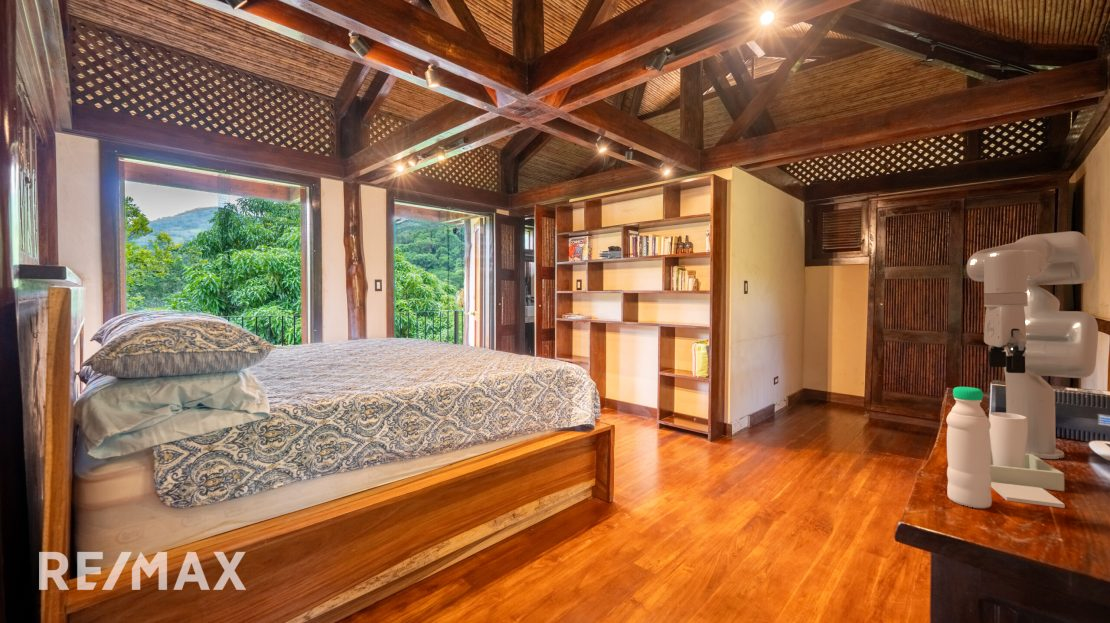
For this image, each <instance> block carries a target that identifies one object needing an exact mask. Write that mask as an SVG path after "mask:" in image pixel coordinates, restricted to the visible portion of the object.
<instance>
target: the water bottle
mask: <svg viewBox="0 0 1110 623" xmlns="http://www.w3.org/2000/svg"><path fill="white" fill-rule="evenodd" d="M952 395H953V399H954V400H955V404H954V406H952V408H951V410H950V411H949V413H948V414H947V417H946V424H947V430H946V456H947V458H946V460H947V465H948V466H947V469H946V476H947V487H946V490H947V491H946V492H947V497H948V498H949V500H951V501H952V502H953V503H956V504H957V505H961V506H963V505H964V507H967V506H968V508H972V507H973V508H974V509H987V508H990V507H991V506H992V503H993V502H992V490H991V488H992V487H991V475H990V465H991V441H990V432H989V430H990V427H991V424H990V421H989V417H988V416H987V415H986V412H985V410H984V409H983V407H981V403H982V402H983V399H984V392H983V391H982V389H980V388H978V387H977V388H976V387H972V386H971V387H970V386H956V387H954V388H953V390H952Z"/></svg>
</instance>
